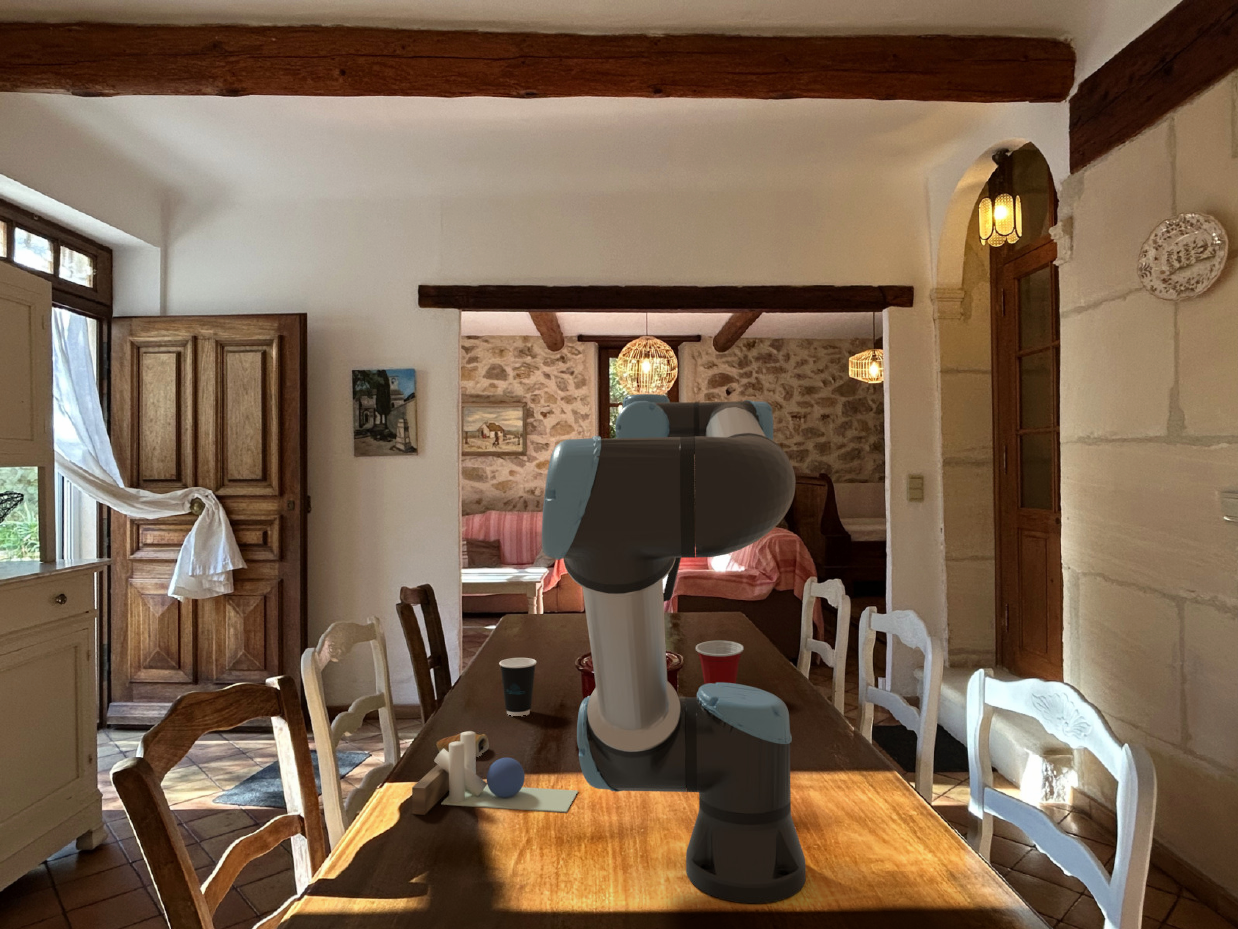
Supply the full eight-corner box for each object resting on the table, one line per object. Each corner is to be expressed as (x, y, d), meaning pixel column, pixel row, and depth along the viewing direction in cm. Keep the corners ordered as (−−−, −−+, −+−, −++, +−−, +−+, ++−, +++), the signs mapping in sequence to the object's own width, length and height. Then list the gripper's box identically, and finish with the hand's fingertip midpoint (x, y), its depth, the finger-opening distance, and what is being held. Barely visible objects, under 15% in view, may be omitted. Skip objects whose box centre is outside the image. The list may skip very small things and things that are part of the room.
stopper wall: (424, 815, 122) (424, 788, 123) (412, 814, 123) (412, 787, 123) (462, 775, 138) (462, 751, 138) (451, 774, 139) (451, 751, 139)
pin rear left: (472, 792, 131) (472, 736, 131) (458, 791, 131) (458, 735, 131) (477, 786, 133) (477, 731, 133) (463, 785, 134) (463, 731, 134)
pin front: (484, 787, 128) (440, 751, 129) (475, 799, 128) (431, 763, 130) (489, 781, 130) (445, 746, 132) (480, 793, 131) (437, 758, 132)
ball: (476, 769, 127) (486, 807, 127) (511, 761, 126) (521, 799, 125) (490, 757, 133) (500, 793, 132) (523, 748, 132) (533, 785, 131)
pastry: (429, 757, 148) (429, 736, 148) (447, 745, 155) (447, 725, 155) (476, 762, 145) (476, 740, 145) (492, 749, 152) (492, 729, 152)
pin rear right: (461, 805, 126) (461, 747, 126) (446, 804, 126) (446, 746, 126) (467, 798, 128) (466, 741, 128) (452, 798, 129) (452, 741, 129)
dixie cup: (507, 721, 168) (506, 668, 168) (494, 711, 175) (494, 660, 175) (542, 715, 172) (542, 663, 172) (528, 706, 179) (528, 656, 179)
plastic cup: (690, 703, 180) (690, 649, 180) (701, 690, 190) (701, 639, 190) (739, 707, 176) (738, 652, 176) (748, 694, 186) (747, 642, 186)
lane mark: (566, 812, 123) (566, 811, 123) (441, 804, 126) (441, 803, 126) (578, 791, 131) (578, 790, 131) (460, 784, 134) (460, 783, 134)
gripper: (690, 493, 129) (692, 641, 129) (610, 493, 131) (611, 639, 131) (686, 494, 122) (688, 652, 122) (601, 495, 124) (602, 649, 124)
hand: (648, 645), depth 126 cm, fingers closed
